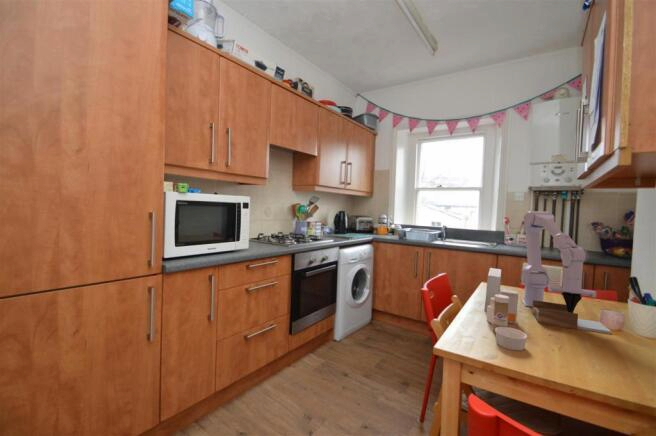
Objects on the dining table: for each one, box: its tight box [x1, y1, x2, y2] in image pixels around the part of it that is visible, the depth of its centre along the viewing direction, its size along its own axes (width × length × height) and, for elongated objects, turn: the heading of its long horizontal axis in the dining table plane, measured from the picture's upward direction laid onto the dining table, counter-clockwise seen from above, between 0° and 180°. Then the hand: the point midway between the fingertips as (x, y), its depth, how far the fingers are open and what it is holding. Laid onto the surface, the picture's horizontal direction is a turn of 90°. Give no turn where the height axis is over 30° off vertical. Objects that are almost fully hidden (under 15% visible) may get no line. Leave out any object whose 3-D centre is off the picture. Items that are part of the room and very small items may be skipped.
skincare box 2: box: [500, 288, 519, 325], centre depth 116 cm, size 6×4×12 cm
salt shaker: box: [486, 298, 495, 325], centre depth 113 cm, size 4×4×10 cm
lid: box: [576, 318, 612, 335], centre depth 113 cm, size 10×10×2 cm
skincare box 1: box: [483, 267, 502, 312], centre depth 134 cm, size 21×6×16 cm, turn 148°
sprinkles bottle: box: [492, 294, 509, 334], centre depth 104 cm, size 5×5×13 cm
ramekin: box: [495, 326, 528, 352], centre depth 95 cm, size 9×9×4 cm
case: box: [531, 300, 579, 330], centre depth 117 cm, size 12×12×6 cm
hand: (570, 311), depth 115 cm, fingers closed
